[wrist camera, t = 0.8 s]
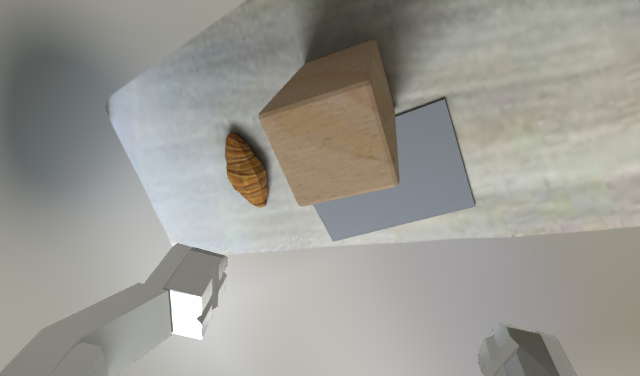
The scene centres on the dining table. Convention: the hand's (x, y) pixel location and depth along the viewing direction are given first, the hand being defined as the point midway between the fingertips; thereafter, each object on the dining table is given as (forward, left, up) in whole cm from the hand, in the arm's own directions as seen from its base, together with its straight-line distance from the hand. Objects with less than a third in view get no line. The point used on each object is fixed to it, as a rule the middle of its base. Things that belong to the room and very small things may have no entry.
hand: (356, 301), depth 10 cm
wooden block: (+5, +3, -39) cm, 40 cm away
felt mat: (+6, +18, -39) cm, 43 cm away
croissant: (+25, +9, -40) cm, 48 cm away
